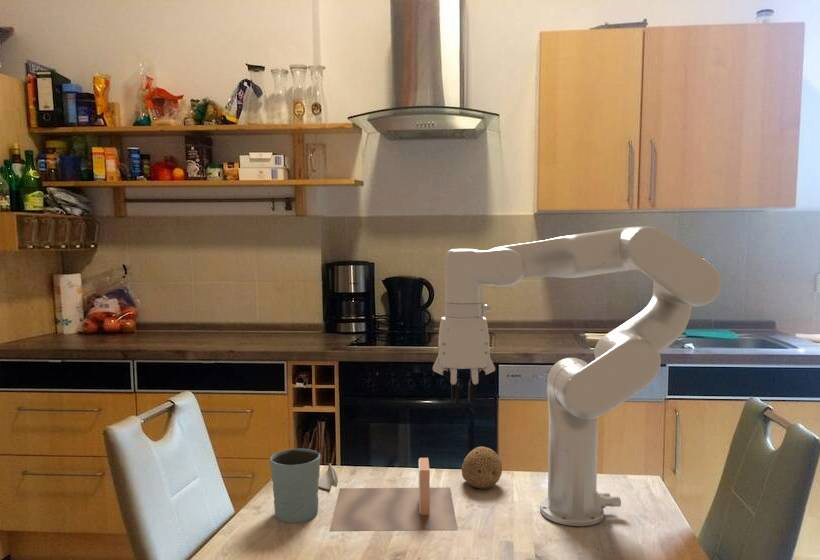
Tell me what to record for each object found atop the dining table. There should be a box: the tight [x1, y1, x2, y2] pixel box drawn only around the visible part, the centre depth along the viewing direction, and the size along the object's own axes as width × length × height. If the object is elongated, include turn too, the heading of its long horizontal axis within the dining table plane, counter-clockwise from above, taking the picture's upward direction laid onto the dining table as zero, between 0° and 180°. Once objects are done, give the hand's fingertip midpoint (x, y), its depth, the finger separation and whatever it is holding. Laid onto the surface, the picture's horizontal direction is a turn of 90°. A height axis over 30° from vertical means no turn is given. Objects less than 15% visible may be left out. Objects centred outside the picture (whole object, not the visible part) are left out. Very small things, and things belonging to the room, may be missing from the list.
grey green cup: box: [269, 448, 321, 524], centre depth 130 cm, size 10×10×12 cm
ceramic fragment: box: [318, 462, 339, 492], centre depth 146 cm, size 14×5×4 cm, turn 13°
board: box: [329, 486, 459, 532], centre depth 130 cm, size 24×20×2 cm
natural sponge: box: [461, 446, 503, 490], centre depth 140 cm, size 9×9×10 cm
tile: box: [418, 457, 431, 515], centre depth 129 cm, size 2×7×9 cm, turn 1°
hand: (463, 401), depth 128 cm, fingers closed
